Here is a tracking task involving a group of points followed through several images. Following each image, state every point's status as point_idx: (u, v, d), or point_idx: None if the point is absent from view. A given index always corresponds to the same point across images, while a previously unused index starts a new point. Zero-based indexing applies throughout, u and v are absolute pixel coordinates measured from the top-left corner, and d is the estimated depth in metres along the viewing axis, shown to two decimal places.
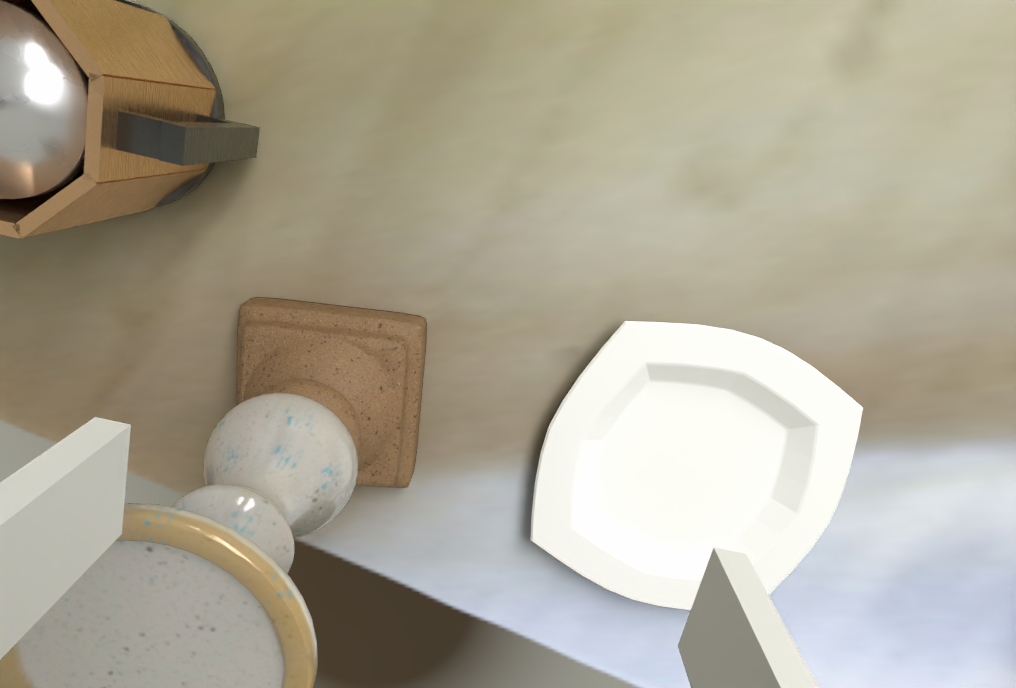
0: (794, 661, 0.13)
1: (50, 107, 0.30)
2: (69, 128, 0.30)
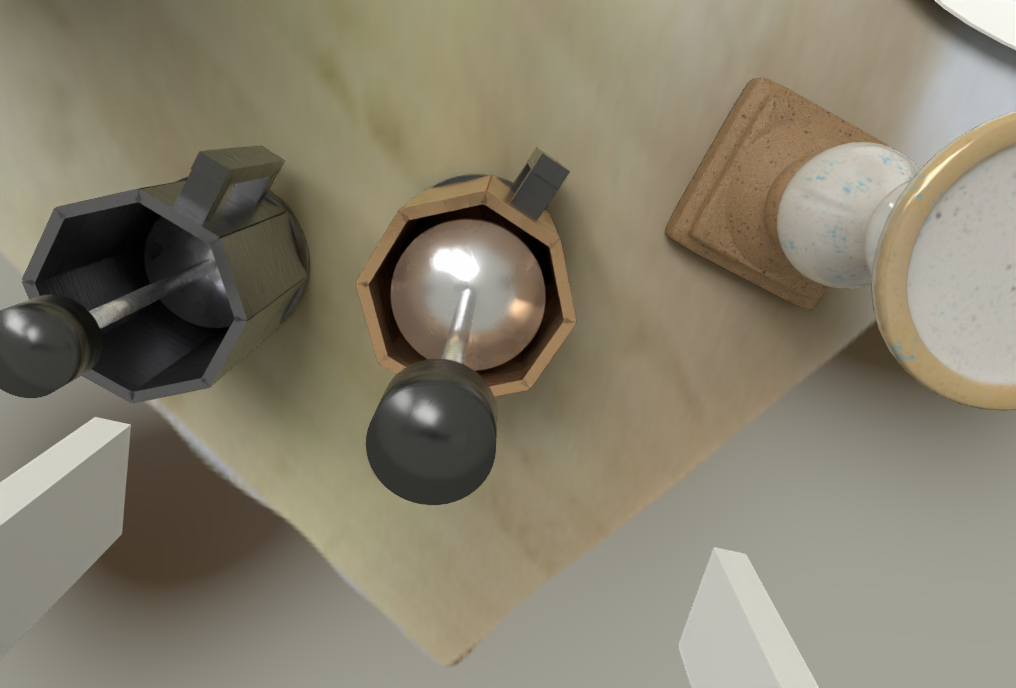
0: (794, 661, 0.13)
1: (488, 254, 0.36)
2: (508, 248, 0.36)
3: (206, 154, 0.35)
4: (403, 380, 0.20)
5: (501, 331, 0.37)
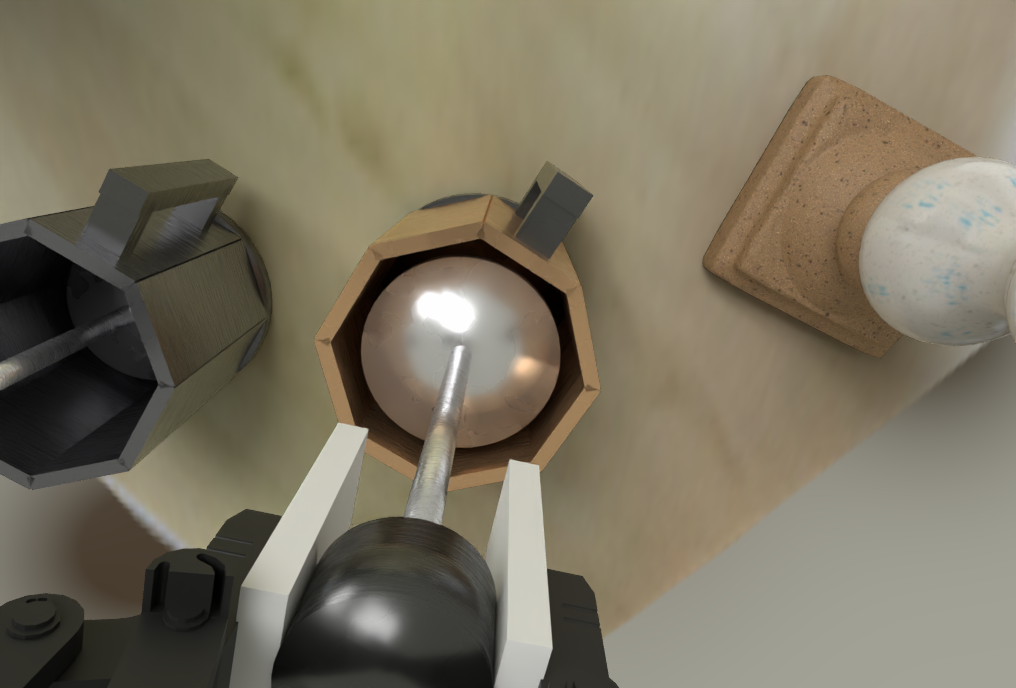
0: (533, 539, 0.14)
1: (487, 301, 0.28)
2: (513, 293, 0.28)
3: (118, 173, 0.27)
4: (338, 569, 0.12)
5: (503, 399, 0.29)
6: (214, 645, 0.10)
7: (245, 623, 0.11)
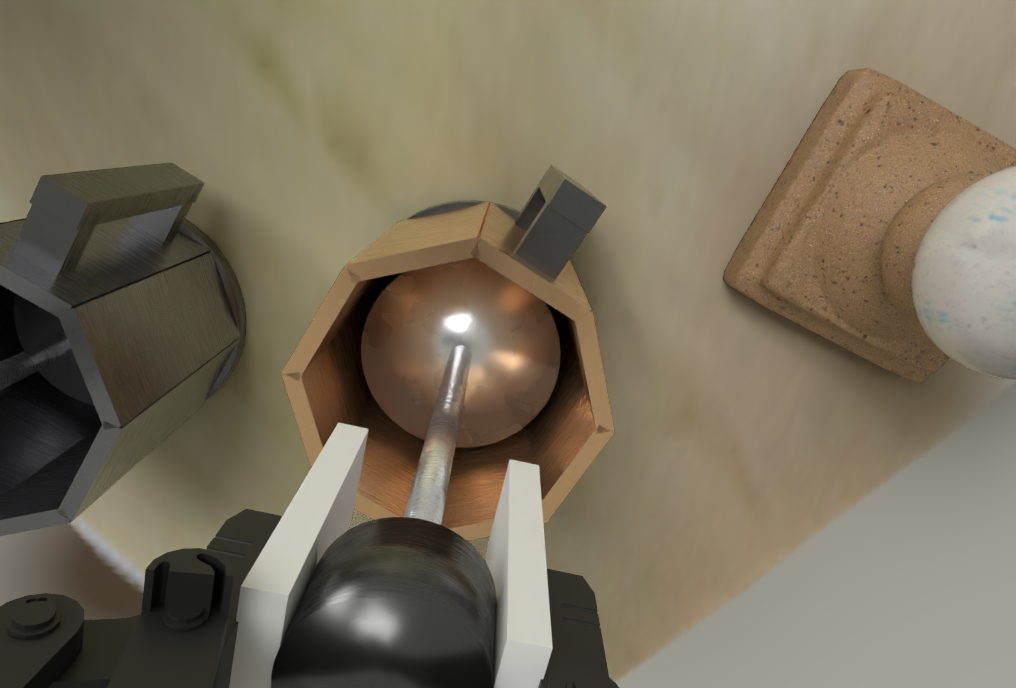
0: (534, 539, 0.14)
1: (487, 301, 0.28)
2: (513, 293, 0.28)
3: (53, 180, 0.23)
4: (338, 569, 0.12)
5: (503, 399, 0.29)
6: (214, 645, 0.10)
7: (245, 623, 0.11)
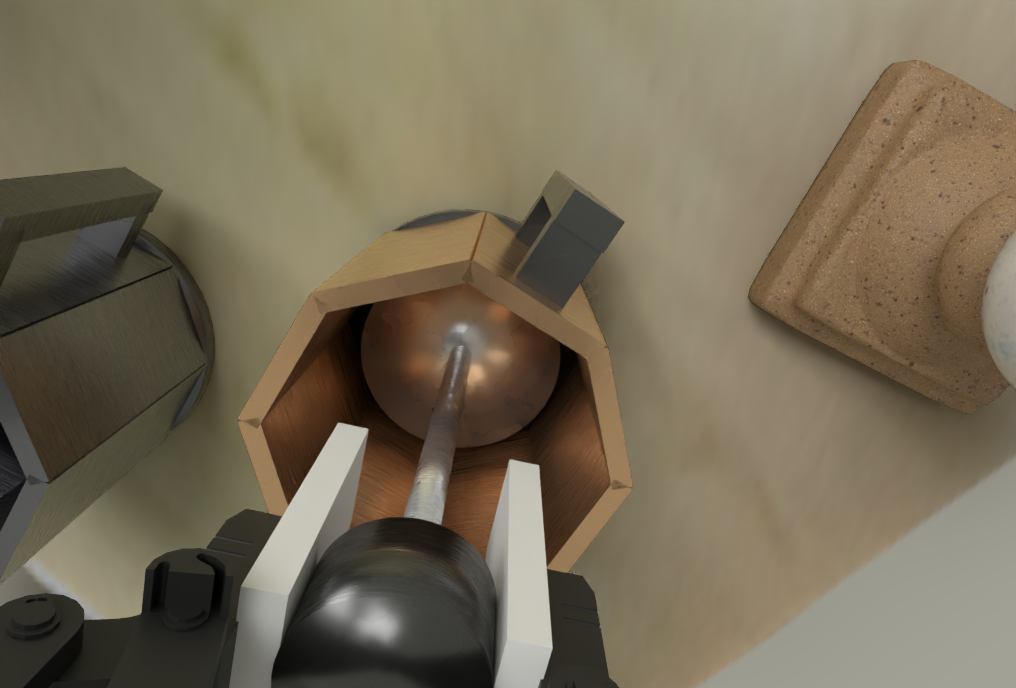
0: (533, 539, 0.14)
1: (487, 301, 0.28)
2: None
3: None
4: (338, 569, 0.12)
5: (503, 399, 0.29)
6: (214, 645, 0.10)
7: (245, 623, 0.11)
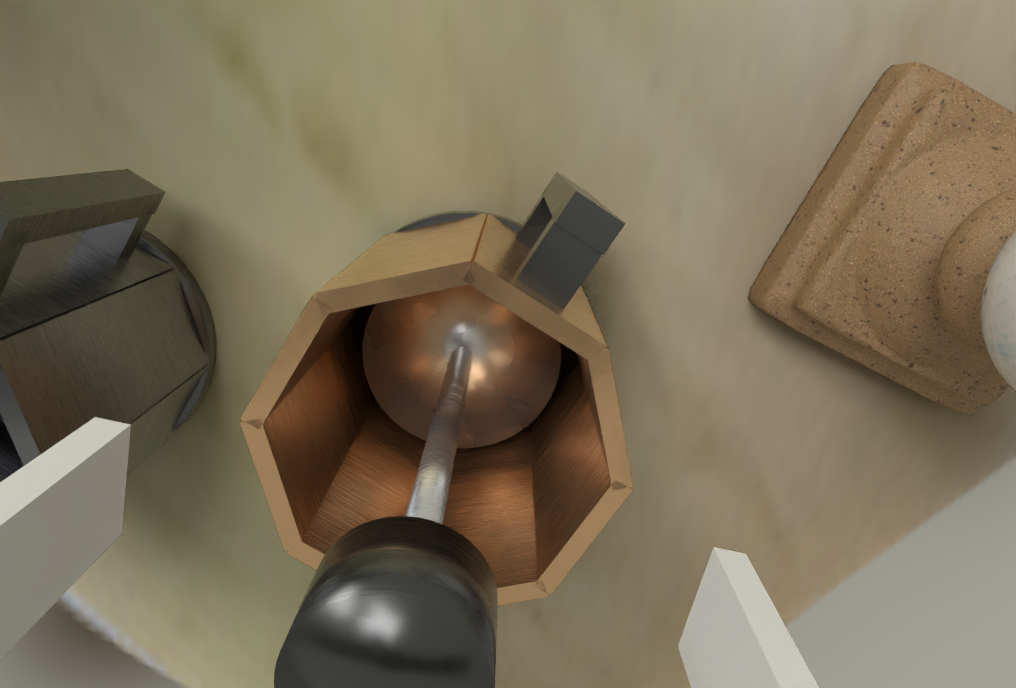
0: (794, 661, 0.13)
1: (488, 303, 0.28)
2: None
3: None
4: (341, 568, 0.12)
5: (504, 400, 0.29)
6: None
7: None
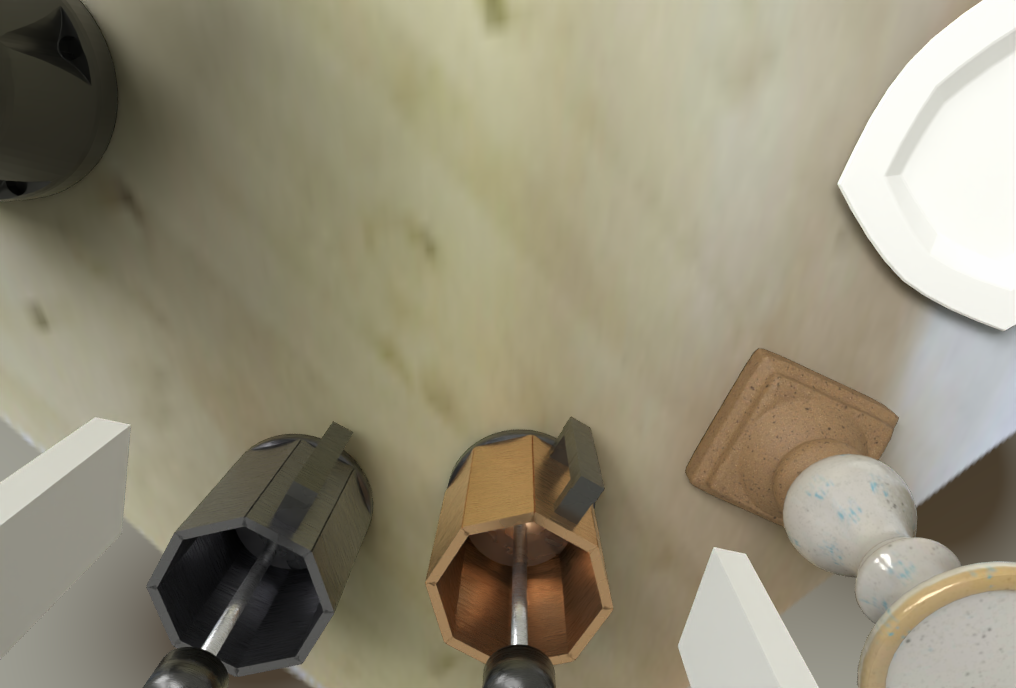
0: (793, 662, 0.13)
1: None
2: None
3: (298, 481, 0.42)
4: (500, 667, 0.34)
5: (544, 540, 0.51)
6: None
7: None
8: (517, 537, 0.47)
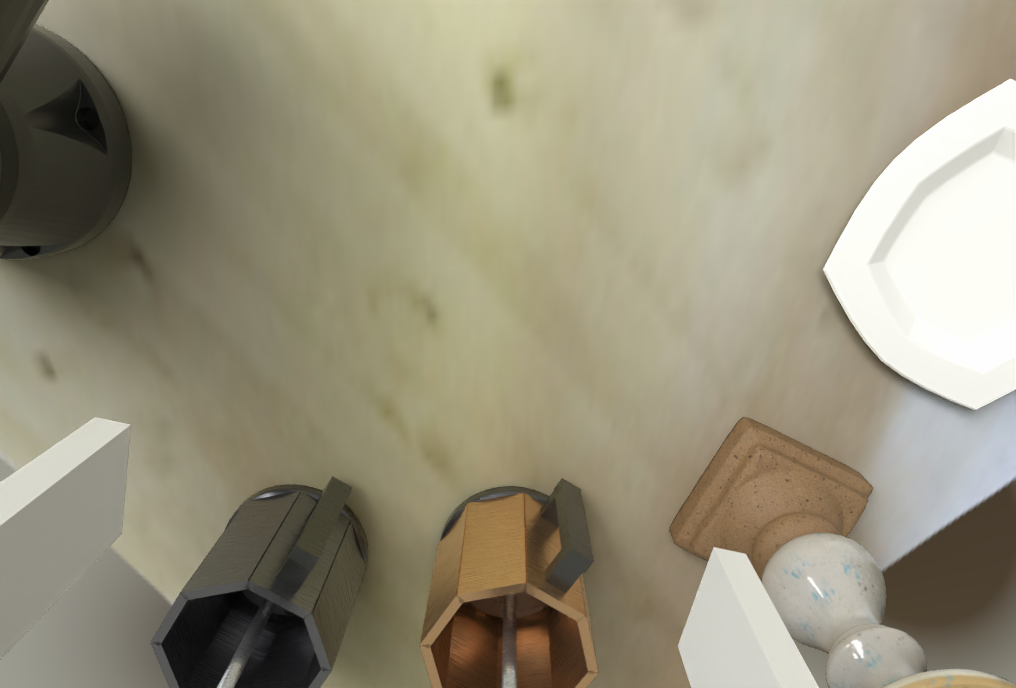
0: (794, 662, 0.13)
1: None
2: None
3: (301, 546, 0.43)
4: None
5: None
6: None
7: None
8: (507, 595, 0.50)
